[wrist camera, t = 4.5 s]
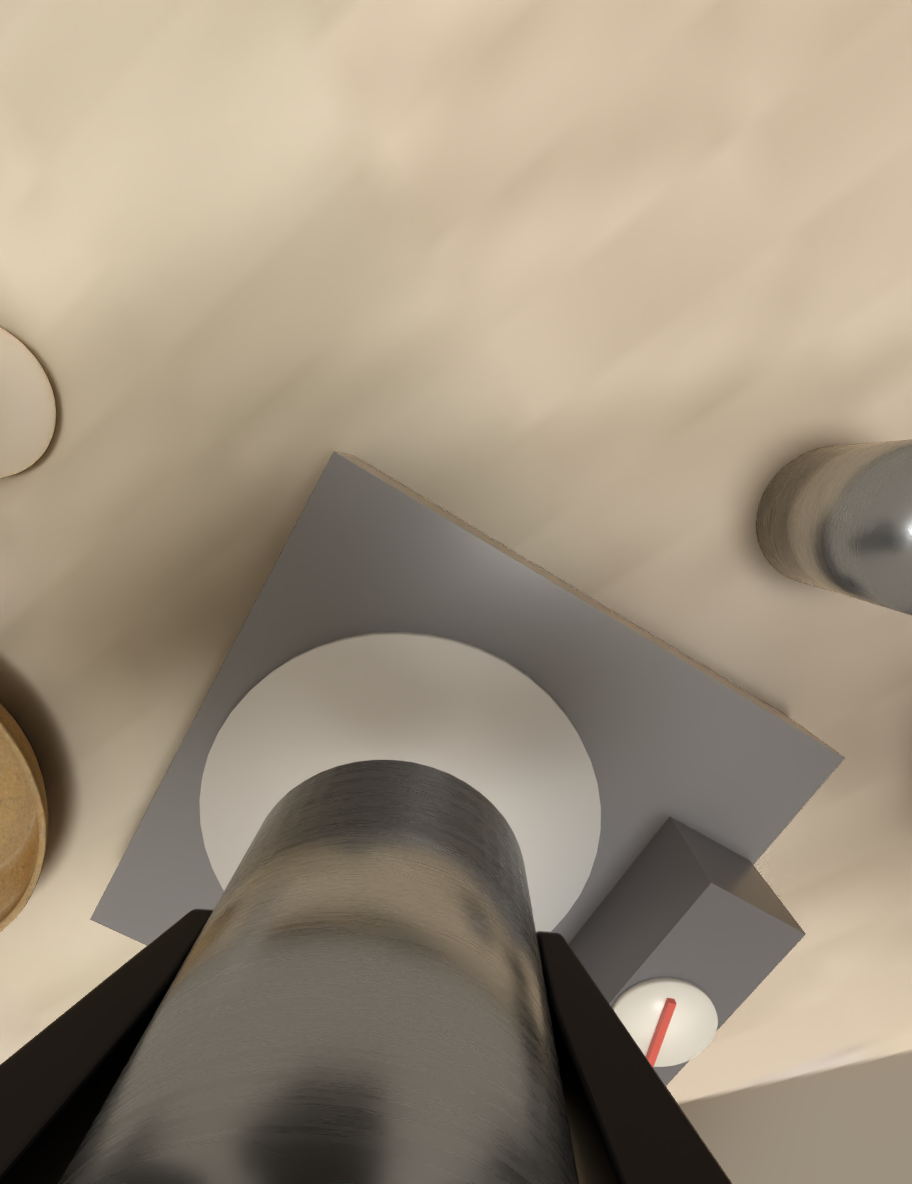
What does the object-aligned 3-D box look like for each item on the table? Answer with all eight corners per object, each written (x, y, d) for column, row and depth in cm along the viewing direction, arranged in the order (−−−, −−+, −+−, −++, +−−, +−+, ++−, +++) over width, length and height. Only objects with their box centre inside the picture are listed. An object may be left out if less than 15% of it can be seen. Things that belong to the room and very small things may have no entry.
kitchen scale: (789, 717, 20) (935, 823, 14) (523, 1043, 24) (545, 1240, 18) (354, 456, 18) (298, 443, 12) (139, 860, 22) (13, 1011, 16)
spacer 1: (511, 1000, 10) (567, 1550, 5) (251, 984, 10) (32, 1522, 5) (540, 769, 8) (652, 1171, 4) (246, 749, 8) (-51, 1130, 4)
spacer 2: (921, 492, 18) (1092, 498, 13) (832, 605, 19) (960, 650, 14) (815, 419, 18) (952, 396, 13) (728, 539, 19) (825, 561, 14)
